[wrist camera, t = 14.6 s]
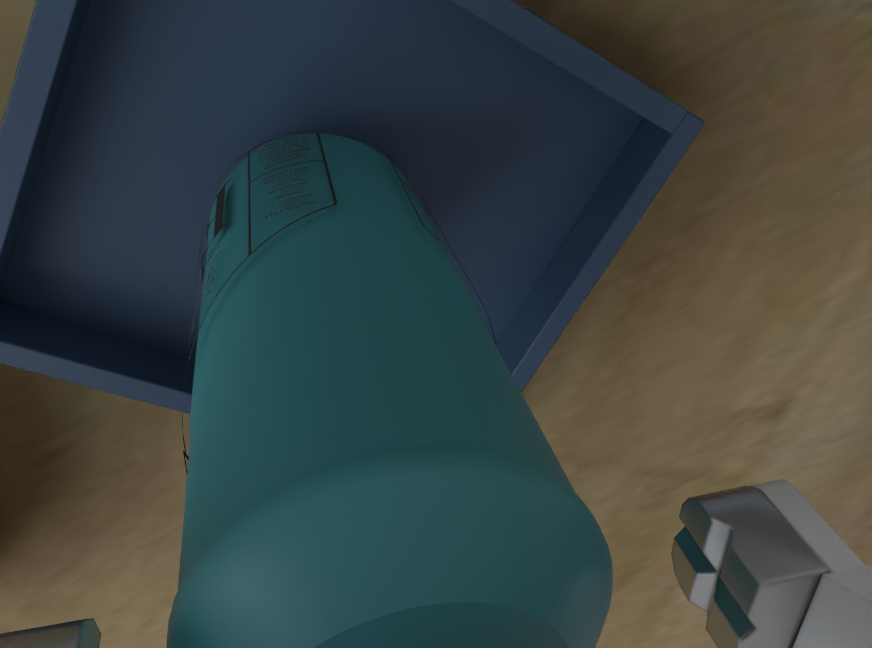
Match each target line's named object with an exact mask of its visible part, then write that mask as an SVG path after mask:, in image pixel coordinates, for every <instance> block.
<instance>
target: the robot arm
mask: <svg viewBox="0 0 872 648" xmlns="http://www.w3.org/2000/svg"><path fill="white" fill-rule="evenodd" d="M679 517H680V519H681V520H682V522H683V523H684V525H685V527H684V528H683V529H682V530H681V531H680V532H679V533H678V534H677V535H676V537H675V538H674V542H673V548H672V553H671V555H672V561H673V567H674V572H675V575H676V577H677V580H678V582H679V585H680V587H681V589H682V590H683V592H684V594H685V595H686V597H687V599H688V600H689V602H691V603H692V604H694V605H695V606H697V607H699V608H700V609H702V610H704V611H705V612H707V621H706V630H707V631H708V633H709V635H710V636H711V638H712V639H713V641H714V643H715V644H716V646H717V647H718V648H872V563H871V564H865V563H864V562H863V561H862V560H861V559H860V558H859V557H858V556H857V555H856V554H855V553H854V551H853V550H852V549H851V548H850V547H849V546H848V545H847V544H846V543H845V542H844V541H843V539H842V538H841V537H840V536H839V535H838V534H837V533H836V532H835V531H834V530H833V529H832V527H831V526H830V525H829V524H828V523H827V522H826V521H825V520H824V519H823V518H822V516H821V515H820V514H819V513H818V512H817V511H816V510H815V509H814V508H813V507H812V506H811V504H810V503H809V502H808V501H807V500H806V499H805V498H804V497H803V496H802V495H801V494H800V492H799V491H798V490H797V489H796V488H795V487H794V486H793V485H792V484H791V483H789V482H787V481H785V480H783V479H782V480H776V481H771V482H766V483H761V484H756V485H751V486H742V487H738V488H733V489H728V490H724V491H719V492H714V493H710V494H705V495H700V496H696V497H691V498H688V499H687V500H686V501H685V502H684V503H683V504H682V507H681V511H680V515H679ZM100 639H101V632H100V630H99V628H98V626H97V624H96V622H95V620H94V618H90V619H84V620H78V621H72V622H66V623H60V624H55V625H49V626H43V627H37V628H31V629H26V630H20V631H14V632H8V633H3V634H0V648H99V645H100Z"/></svg>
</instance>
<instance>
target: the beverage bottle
mask: <svg viewBox="0 0 872 648" xmlns="http://www.w3.org/2000/svg"><path fill="white" fill-rule="evenodd" d="M303 132H315V133H314V134H301V135H295V136H290V137H286V138H283V139H279V140H277V141H274V142H272V143H270V144H267V145H265V146H264V147H262V148H260V149H258V150H257V151H255V152H254V153H252V154H251V155H250V151H251V150H250V151H248V152H247V153H248V157H247V158H245V159H244V160H243V161H242V162H240V163H239V164H238V165H237V166H236V167H235V168H234V169H233V170H231V173H230V172H229V175H228V177H227V175H226V176H225V177H226V179H225V181H224V182H223V180H222V181H221V183H223V184H222V185H221V187H220V189H219V191H218V193H217V195H216V197H215V200H213V201H214V203H213V206H212V210H211V215H210V220H209V222H208V223H209V224H208V223H207V232H206V237H207V233H208V239H207V249H206V251H205V252H204V254H203V252H202V256H201V263H202V260H203V259H204V255H205V253H206V256H205V258H206V259H205V260H204V262H205V268H204V269H203V265H202V274H201V276H202V279H201V280H202V281H203V289H202V291H201V292H200V294H201V293H202V297H201V298H200V301H201V305H200V306H201V309H200V308H199V309H200V319H199V329H198V332H197V334H198V339H197V349H196V348H195V345H194V343H193V345H194V349H195V350H196V359H195V356H194V359H195V366H193V365H192V366H193V368H194V367H195V369H194V376H193V377H194V379H193V383H192V381H191V384H193V390H192V402H191V416H190V450H189V457H188V456H187V455H186V449H185V452H184V451H183V453H184V459H185V457H186V458H187V459H188V460H189V462H188V472H187V467H186V472H187V486H186V498H185V510H184V522H183V534H182V546H181V558H180V570H179V582H178V592H177V594H176V596H175V599H174V602H173V606H172V610H171V614H170V618H169V624H168V634H167V648H595V646H596V644H597V641H598V639H599V636H600V634H601V631H602V628H603V625H604V622H605V619H606V616H607V613H608V610H609V607H610V601H611V594H612V581H613V579H612V560H611V556H610V552H609V548H608V544H607V542H606V540H605V538H604V536H603V534H602V532H601V529H600V527H599V525H598V523H597V521H596V519H595V518H594V516H593V515H592V513H591V512H590V510H589V509H588V508H587V506H586V505H585V504H584V502H583V501H582V500H581V499H580V498H579V496H578V495H577V494H576V493H575V491H574V489H573V487H572V486H571V484H570V482H569V480H568V478H567V476H566V475H565V473H564V471H563V469H562V467H561V465H560V463H559V462H558V460H557V458H556V456H555V454H554V452H553V451H552V449H551V447H550V445H549V443H548V441H547V439H546V438H545V436H544V434H543V432H542V430H541V428H540V427H539V425H538V423H537V421H536V419H535V417H534V415H533V414H532V412H531V410H530V408H529V406H528V404H527V403H526V401H525V399H524V397H523V395H522V393H521V391H520V390H519V388H518V386H517V384H516V382H515V380H514V379H513V377H512V375H511V373H510V371H509V369H508V367H507V366H506V364H505V362H504V360H503V358H502V356H501V355H500V353H499V351H498V349H497V347H496V342H495V343H494V342H493V340H492V338H491V336H490V334H489V332H488V331H487V329H486V327H485V325H484V323H483V320H482V318H481V315H480V313H479V310H478V308H477V306H476V304H475V302H474V300H473V298H472V296H471V294H470V292H469V290H468V289H467V287H466V285H465V283H464V281H463V279H462V278H461V276H460V274H459V272H458V270H457V269H456V267H455V265H454V263H453V261H452V260H451V258H450V256H449V254H448V253H447V251H446V249H445V247H446V246H445V245H444V244H443V243H442V242H441V240H440V238H439V236H438V235H437V233H436V231H435V229H434V227H433V226H432V224H431V222H430V220H431V219H430V220H429V217H428V215H429V214H428V213H427V214H428V215H426V213H425V211H424V210H423V208H422V206H421V204H420V202H419V201H418V199H417V197H416V195H417V194H418V193H417V192H416V191H415V190H414V191H415V192H416V193H417V194H416V193H415V192H413V190H412V189H413V188H414V187H415V186H414V185H415V182H414V183H413V182H412V183H413V184H414V185H413V186H412V187H413V188H412V187H411V186H410V185H409V183H408V182H407V180H406V179H405V177H404V176H403V174H402V173H401V172H400V171H401V170H400V169H399V168H397V167H396V166H395V165H394V164H393V163H392V161H391V159H390V157H389V154H387V156H388V158H389V160H390V161H389V160H388V159H387V158H386V157H385V156H384V155H382V154H381V153H379V152H378V151H376V150H375V149H373V148H371V147H369V146H367V145H365V144H363V143H361V142H358V141H356V140H353V139H350V138H347V137H342V136H337V135H332V134H320V133H318V132H316V131H303ZM297 133H302V132H297ZM290 134H295V133H290ZM286 135H289V134H286ZM286 135H283V136H286ZM280 137H282V136H280ZM276 138H279V137H276ZM273 139H275V138H273ZM273 139H271V140H273ZM271 140H269V141H271ZM267 142H268V141H267ZM264 143H266V142H264ZM264 143H262V144H264ZM262 144H260V145H262ZM260 145H258V146H260ZM258 146H257V147H258ZM255 148H256V147H255ZM255 148H253V149H255ZM253 149H252V150H253ZM247 153H246V154H247ZM244 155H245V154H244ZM244 155H243V156H244ZM243 156H242V157H243ZM391 157H392V156H391ZM240 158H241V157H240ZM240 158H239V159H240ZM392 158H393V157H392ZM239 159H238V160H239ZM393 159H394V158H393ZM238 160H237V161H238ZM235 162H236V161H235ZM235 162H234V163H235ZM234 163H233V164H234ZM398 163H399V162H398ZM233 164H232V165H233ZM399 164H400V163H399ZM232 165H231V166H232ZM400 165H401V164H400ZM398 169H399V170H400V171H399V170H398ZM402 169H403V168H402ZM406 172H407V171H406ZM406 172H405V173H406ZM405 173H404V174H405ZM407 173H408V172H407ZM407 173H406V174H407ZM224 174H225V173H224ZM224 174H223V175H224ZM406 174H405V175H406ZM407 175H408V174H407ZM407 175H406V176H407ZM408 176H409V175H408ZM221 178H222V177H221ZM221 178H220V179H221ZM410 179H411V178H410ZM411 180H412V181H413V179H411ZM219 181H220V180H219ZM219 181H218V182H219ZM218 182H217V183H218ZM216 185H217V184H216ZM215 187H216V186H215ZM416 187H417V186H416ZM416 187H415V188H416ZM218 188H219V187H217V188H216V190H215V192H214V194H215V193H216V191H217V189H218ZM415 188H414V189H415ZM214 189H215V188H214ZM416 190H417V191H418V190H419V189H417V188H416ZM418 192H419V191H418ZM419 193H421V192H419ZM211 194H212V193H211ZM214 194H213V196H214ZM415 194H416V195H415ZM418 195H419V194H418ZM418 195H417V196H418ZM210 196H211V195H210ZM213 196H212V198H213ZM419 196H420V195H419ZM419 196H418V197H419ZM421 197H422V196H421ZM212 198H211V199H210V198H209V199H210V202H211V200H212ZM422 199H423V198H422ZM424 200H425V199H424ZM210 202H209V204H210ZM424 202H425V201H424ZM424 204H425V203H424ZM206 207H207V206H206ZM423 207H424V206H423ZM426 207H427V206H426ZM428 207H429V206H428ZM424 208H425V207H424ZM207 209H208V207H207ZM427 209H428V208H427ZM427 209H426V212H427ZM429 209H430V208H429ZM205 210H206V209H205ZM429 211H430V210H428V212H429ZM431 213H432V211H431ZM431 213H430V214H431ZM205 215H206V213H205ZM431 216H432V215H431ZM431 216H430V217H431ZM204 218H205V217H204ZM431 218H432V219H433V220H434V218H435V217H434V218H433V217H431ZM434 221H435V220H434ZM432 222H433V221H432ZM436 222H437V221H435V223H436ZM433 223H434V222H433ZM435 223H434V225H436V226H438V225H437V224H438V223H437V224H435ZM203 226H204V225H203ZM439 226H440V225H439ZM438 228H439V227H438ZM440 229H441V228H440ZM440 229H438V230H439V231H440ZM202 231H203V230H202ZM202 233H203V232H202ZM441 233H442V232H441ZM443 233H444V232H443ZM443 233H442V236H443ZM439 235H440V234H439ZM442 236H441V237H442ZM444 236H445V235H444ZM444 236H443V237H444ZM443 237H442V238H443ZM201 238H202V239H203V237H202V236H201ZM444 238H445V237H444ZM446 239H447V238H446ZM446 239H444V240H446ZM446 242H447V245H448V246H449V244H448V239H447V241H446ZM449 243H450V242H449ZM201 244H202V243H201ZM201 244H200V248H201V247H202V246H201ZM450 245H451V244H450ZM444 246H445V247H444ZM449 247H450V246H449ZM203 249H204V247H203ZM203 249H202V250H203ZM450 249H451V248H450ZM448 251H449V250H448ZM453 251H454V250H453ZM453 251H452V252H453ZM449 252H450V251H449ZM450 253H451V252H450ZM451 254H452V253H451ZM453 254H454V253H453ZM453 254H452V255H453ZM456 255H457V254H456ZM454 256H455V255H454ZM199 257H200V252H199ZM455 257H456V256H455ZM455 259H456V260H457V258H455ZM457 261H458V260H457ZM458 263H459V262H458ZM459 264H460V263H459ZM198 266H199V261H198ZM460 266H461V264H460ZM461 268H462V269H463V267H461ZM463 271H465V270H463ZM203 272H204V278H203ZM464 273H465V272H464ZM197 274H198V269H197ZM466 274H467V273H466ZM466 274H465V275H466ZM197 276H198V275H197ZM466 276H467V275H466ZM200 278H201V277H200ZM467 278H468V277H467ZM469 278H470V277H469ZM198 279H199V278H198ZM468 280H469V279H468ZM197 281H198V280H197V277H196V283H197ZM199 281H200V280H199ZM469 281H470V280H469ZM470 283H471V282H470ZM198 285H199V283H198ZM471 285H472V284H471ZM196 286H197V285H196ZM196 286H195V291H196V289H197V288H196ZM197 287H198V286H197ZM201 287H202V285H201ZM472 287H473V286H472ZM473 288H474V287H473ZM198 289H199V287H198ZM474 290H475V289H474ZM197 291H198V290H197ZM475 292H476V291H475ZM196 294H197V292H196ZM476 294H477V293H476ZM477 295H478V294H477ZM195 297H196V296H195ZM199 297H200V295H199ZM478 297H479V296H478ZM196 298H198V297H196ZM198 299H199V298H198ZM479 299H480V298H479ZM196 300H197V299H196ZM196 300H195V301H194V302H196ZM480 300H481V299H480ZM197 302H198V300H197ZM481 302H482V301H481ZM199 303H200V302H199ZM196 304H197V303H196ZM482 304H483V302H482ZM483 306H484V305H483ZM195 307H196V305H195ZM484 308H485V307H484ZM194 309H195V308H194ZM194 309H193V311H194ZM199 309H198V311H199ZM196 310H197V308H196ZM198 311H197V313H198ZM486 313H487V312H486ZM192 314H195V313H194V312H192ZM487 315H488V314H487ZM196 316H197V314H196ZM192 318H193V317H192ZM488 318H489V317H488ZM191 321H193V320H191ZM489 321H490V320H489ZM194 322H195V319H194ZM194 322H193V323H194ZM191 323H192V322H191ZM490 325H491V323H490ZM192 326H193V324H192ZM194 328H195V326H194V327H193V330H194ZM191 329H192V328H191ZM191 329H190V331H191ZM491 329H492V327H491ZM193 330H192V336H193ZM492 332H493V330H492ZM190 334H191V332H190ZM194 336H195V334H194ZM196 336H197V335H196ZM493 336H494V334H493ZM190 338H191V337H190ZM190 338H189V343H190ZM494 340H495V337H494ZM195 341H196V337H195V340H193V342H195ZM190 346H191V344H190ZM188 348H189V347H188ZM192 348H193V346H192ZM190 349H191V348H190ZM191 351H192V350H191ZM190 354H191V357H192V355H194V352H193V351H192V352H191V353H190V352H189V358H190ZM187 359H188V358H187ZM192 360H193V359H192ZM192 360H190V362H191V361H192ZM188 361H189V359H188ZM187 365H189V362H188V364H187ZM190 365H191V364H190ZM187 370H188V368H187ZM187 370H186V371H187ZM189 374H190V369H189ZM191 374H193V371H192V373H191ZM187 375H188V372H187ZM185 376H186V375H185ZM190 379H191V378H190ZM188 381H189V377H188ZM184 382H185V381H184ZM183 389H184V388H183ZM182 404H183V403H182ZM182 426H183V417H182ZM183 442H184V437H183ZM184 448H185V443H184ZM185 465H186V461H185Z"/></svg>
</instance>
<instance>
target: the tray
mask: <svg viewBox="0 0 872 648" xmlns="http://www.w3.org/2000/svg"><path fill="white" fill-rule="evenodd" d="M704 124H705V122H704V120H702V119H700V118H699V117H697V116H696V115H694V114H692V113H691V112H689V111H687V110H686V109H685V108H683V107H681V106H680V105H678V104H677V103H675V102H673V101H672V100H670V99H669V98H667V97H666V96H664V95H662V94H661V93H659V92H658V91H656V90H654V89H653V88H651V87H650V86H648V85H646V84H645V83H643V82H642V81H640V80H638V79H637V78H635V77H634V76H632V75H630V74H629V73H627V72H626V71H624V70H622V69H621V68H619V67H618V66H616V65H614V64H613V63H611V62H610V61H608V60H607V59H605V58H603V57H602V56H600V55H599V54H597V53H595V52H594V51H592V50H591V49H589V48H587V47H586V46H584V45H583V44H581V43H579V42H578V41H576V40H575V39H573V38H571V37H570V36H568V35H567V34H565V33H563V32H562V31H560V30H559V29H557V28H555V27H554V26H552V25H551V24H549V23H548V22H546V21H544V20H543V19H541V18H540V17H538V16H536V15H535V14H533V13H532V12H530V11H528V10H527V9H525V8H524V7H522V6H520V5H519V4H517V3H516V2H514V1H512V0H36V4H35V7H34V11H33V15H32V18H31V22H30V25H29V29H28V32H27V36H26V40H25V43H24V47H23V50H22V54H21V57H20V61H19V64H18V68H17V72H16V75H15V79H14V82H13V86H12V89H11V93H10V97H9V100H8V104H7V107H6V111H5V114H4V118H3V121H2V125H1V129H0V363H1V364H4V365H8V366H12V367H16V368H19V369H23V370H27V371H31V372H35V373H38V374H42V375H46V376H50V377H53V378H57V379H61V380H65V381H68V382H72V383H76V384H80V385H83V386H87V387H91V388H95V389H98V390H102V391H106V392H110V393H113V394H117V395H121V396H125V397H128V398H132V399H136V400H140V401H143V402H147V403H151V404H155V405H158V406H162V407H166V408H170V409H173V410H177V411H181V412H185V413H189V414H191V402H192V390H193V384H191V381H192V383H193V379H194V377H193V376H194V369H195V367H194V368H193V366H195V359H196V350H195V349H194V345H195V348H196V349H197V339H198V334H197V332H198V329H199V319H200V309H201V306H200V305H201V301H200V298H201V297H202V293H201V294H200V292H201V291H202V289H203V281H202V280H201V279H202V276H201V274H202V265H203V269H204V268H205V262H204V260H205V259H206V258H205V256H206V253H205V255H204V259H203V260H202V263H201V256H202V252H203V254H204V252H205V251H206V249H207V239H208V233H207V237H206V232H207V223H208V222H209V220H210V215H211V210H212V206H213V203H214V201H213V200H215V197H216V195H217V193H218V191H219V189H220V187H221V185H222V184H223V183H221V181H222V180H223V182H224V181H225V179H226V177H225V176H226V175H227V177H228V175H229V172H230V173H231V170H233V169H234V168H235V167H236V166H237V165H238V164H239V163H240V162H242V161H243V160H244V159H245V158H247V157H248V153H247V152H248V151H250V150H251V151H250V155H251V154H252V153H254V152H255V151H257V150H258V149H260V148H262V147H264V146H265V145H267V144H270V143H272V142H274V141H277V140H279V139H283V138H286V137H290V136H295V135H301V134H314V133H315V132H303V131H316V132H318V133H320V134H332V135H337V136H342V137H347V138H350V139H353V140H356V141H358V142H361V143H363V144H365V145H367V146H369V147H371V148H373V149H375V150H376V151H378V152H379V153H381V154H382V155H384V156H385V157H386V158H387V159H388V160H389V158H388V156H387V154H389V157H390V159H391V161H392V163H393V164H394V165H395V166H396V167H397V168H399V169H400V170H401V171H400V170H399V169H398V170H399V171H400V172H401V173H402V174H403V176H404V177H405V179H406V180H407V182H408V183H409V185H410V186H411V187H412V186H413V185H414V184H413V183H414V182H415V185H414V186H415V187H416V186H417V187H416V188H417V189H419V190H418V191H419V192H421V193H419V192H418V191H417V190H416V188H415V187H414V188H415V189H414V188H413V187H412V188H413V189H412V190H413V192H415V191H416V192H417V193H418V194H419V195H420V196H419V195H418V194H417V193H416V192H415V193H416V194H417V195H418V196H419V197H418V196H417V195H416V194H415V195H416V197H417V199H418V201H419V202H420V204H421V206H422V208H423V210H424V211H425V213H426V215H428V214H429V215H428V217H429V220H430V219H431V220H430V222H431V224H432V226H433V227H434V229H435V231H436V233H437V235H438V236H439V238H440V240H441V242H442V243H443V244H444V245H445V246H446V247H445V246H444V247H445V249H446V251H447V253H448V254H449V256H450V258H451V260H452V261H453V263H454V265H455V267H456V269H457V270H458V272H459V274H460V276H461V278H462V279H463V281H464V283H465V285H466V287H467V289H468V290H469V292H470V294H471V296H472V298H473V300H474V302H475V304H476V306H477V308H478V310H479V313H480V315H481V318H482V320H483V323H484V325H485V327H486V329H487V331H488V332H489V334H490V336H491V338H492V340H493V342H494V343H495V342H496V347H497V349H498V351H499V353H500V355H501V356H502V358H503V360H504V362H505V364H506V366H507V367H508V369H509V371H510V373H511V375H512V377H513V379H514V380H515V382H516V384H517V386H518V388H519V390H520V391H521V392H522V390H523V389H524V387H525V386H526V384H527V383H528V381H529V380H530V378H531V377H532V375H533V374H534V373H535V371H536V370H537V368H538V367H539V365H540V364H541V362H542V361H543V359H544V358H545V357H546V355H547V354H548V352H549V351H550V349H551V348H552V346H553V345H554V343H555V342H556V340H557V339H558V338H559V336H560V335H561V333H562V332H563V330H564V329H565V327H566V326H567V324H568V323H569V321H570V320H571V319H572V317H573V316H574V314H575V313H576V311H577V310H578V308H579V307H580V305H581V304H582V302H583V301H584V300H585V298H586V297H587V295H588V294H589V292H590V291H591V289H592V288H593V286H594V285H595V284H596V282H597V281H598V279H599V278H600V276H601V275H602V273H603V272H604V270H605V269H606V267H607V266H608V265H609V263H610V262H611V260H612V259H613V257H614V256H615V254H616V253H617V251H618V250H619V248H620V247H621V246H622V244H623V243H624V241H625V240H626V238H627V237H628V235H629V234H630V232H631V231H632V230H633V228H634V227H635V225H636V224H637V222H638V221H639V219H640V218H641V216H642V215H643V213H644V212H645V211H646V209H647V208H648V206H649V205H650V203H651V202H652V200H653V199H654V197H655V196H656V194H657V193H658V192H659V190H660V189H661V187H662V186H663V184H664V183H665V181H666V180H667V178H668V177H669V175H670V174H671V173H672V171H673V170H674V168H675V167H676V165H677V164H678V162H679V161H680V159H681V158H682V157H683V155H684V154H685V152H686V151H687V149H688V148H689V146H690V145H691V143H692V142H693V140H694V139H695V138H696V136H697V135H698V133H699V132H700V130H701V129H702V127H703V126H704ZM297 132H302V133H297ZM290 133H295V134H290ZM286 134H289V135H286ZM283 135H286V136H283ZM280 136H282V137H280ZM276 137H279V138H276ZM273 138H275V139H273ZM271 139H273V140H271ZM269 140H271V141H269ZM267 141H268V142H267ZM264 142H266V143H264ZM262 143H264V144H262ZM260 144H262V145H260ZM258 145H260V146H258ZM257 146H258V147H257ZM255 147H256V148H255ZM253 148H255V149H253ZM252 149H253V150H252ZM246 153H247V154H246ZM244 154H245V155H244ZM243 155H244V156H243ZM242 156H243V157H242ZM391 156H392V157H393V158H394V159H393V158H392V157H391ZM240 157H241V158H240ZM239 158H240V159H239ZM238 159H239V160H238ZM237 160H238V161H237ZM235 161H236V162H235ZM389 161H390V160H389ZM234 162H235V163H234ZM398 162H399V163H400V164H401V165H400V164H399V163H398ZM233 163H234V164H233ZM232 164H233V165H232ZM231 165H232V166H231ZM402 168H403V169H402ZM406 171H407V172H408V173H407V172H406ZM405 172H406V173H407V174H408V175H409V176H408V175H407V174H406V173H405ZM224 173H225V174H224ZM404 173H405V174H406V175H407V176H406V175H405V174H404ZM223 174H224V175H223ZM221 177H222V178H221ZM220 178H221V179H220ZM410 178H411V179H413V181H412V180H411V179H410ZM219 180H220V181H219ZM218 181H219V182H218ZM217 182H218V183H217ZM412 182H413V183H412ZM216 184H217V185H216ZM215 186H216V187H215ZM217 187H219V188H218V189H217V191H216V193H215V194H214V192H215V190H216V188H217ZM214 188H215V189H214ZM414 190H415V191H414ZM211 193H212V194H211ZM213 194H214V196H213ZM210 195H211V196H210ZM212 196H213V198H212ZM421 196H422V197H421ZM209 198H210V199H211V198H212V200H211V202H210V199H209ZM422 198H423V199H422ZM424 199H425V200H424ZM424 201H425V202H424ZM209 202H210V204H209ZM424 203H425V204H424ZM206 206H207V207H208V209H207V207H206ZM423 206H424V207H425V208H424V207H423ZM426 206H427V207H426ZM428 206H429V207H428ZM427 208H428V209H427ZM429 208H430V209H429ZM205 209H206V210H205ZM426 209H427V212H426ZM428 210H430V211H429V212H428ZM431 211H432V213H431ZM205 213H206V215H205ZM427 213H428V214H427ZM430 213H431V214H430ZM431 215H432V216H431ZM430 216H431V217H433V218H434V217H435V218H434V220H435V221H437V222H436V223H435V221H434V220H433V219H432V218H431V217H430ZM204 217H205V218H204ZM432 221H433V222H434V223H435V224H437V223H438V224H437V225H438V226H436V225H434V223H433V222H432ZM208 224H209V223H208ZM203 225H204V226H203ZM439 225H440V226H439ZM438 227H439V228H438ZM440 228H441V229H440ZM438 229H440V231H439V230H438ZM202 230H203V231H202ZM202 232H203V233H202ZM441 232H442V233H443V232H444V233H443V236H444V235H445V236H444V237H445V238H444V237H443V236H442V233H441ZM439 234H440V235H439ZM201 236H202V237H203V239H202V238H201ZM441 236H442V237H443V238H442V237H441ZM446 238H447V239H448V244H449V246H450V247H449V246H448V245H447V242H446V241H447V239H446ZM444 239H446V240H444ZM449 242H450V243H449ZM201 243H202V244H201ZM200 244H201V246H202V247H201V248H200ZM450 244H451V245H450ZM203 247H204V249H203ZM450 248H451V249H450ZM202 249H203V250H202ZM448 250H449V251H450V252H451V253H452V254H453V253H454V254H453V255H452V254H451V253H450V252H449V251H448ZM453 250H454V251H453ZM452 251H453V252H452ZM199 252H200V257H199ZM456 254H457V255H456ZM454 255H455V256H456V257H455V256H454ZM455 258H457V260H458V261H457V260H456V259H455ZM198 261H199V266H198ZM458 262H459V263H460V264H461V266H460V264H459V263H458ZM461 267H463V269H462V268H461ZM197 269H198V274H197ZM463 270H465V271H463ZM464 272H465V273H464ZM466 273H467V274H466ZM465 274H466V275H467V276H466V275H465ZM197 275H198V276H197ZM196 277H197V280H198V281H197V283H196ZM200 277H201V278H200ZM467 277H468V278H467ZM469 277H470V278H469ZM198 278H199V279H198ZM203 278H204V272H203ZM468 279H469V280H470V281H469V280H468ZM199 280H200V281H199ZM470 282H471V283H470ZM198 283H199V285H198ZM471 284H472V285H471ZM196 285H197V286H198V287H199V289H198V287H197V286H196ZM201 285H202V287H201ZM195 286H196V288H197V289H196V291H195ZM472 286H473V287H474V288H473V287H472ZM474 289H475V290H474ZM197 290H198V291H197ZM475 291H476V292H475ZM196 292H197V294H196ZM476 293H477V294H478V295H477V294H476ZM199 295H200V297H199ZM195 296H196V297H198V298H199V299H198V298H196V297H195ZM478 296H479V297H478ZM479 298H480V299H481V300H480V299H479ZM196 299H197V300H198V302H197V300H196ZM195 300H196V302H194V301H195ZM481 301H482V302H483V304H482V302H481ZM199 302H200V303H199ZM196 303H197V304H196ZM195 305H196V307H195ZM483 305H484V306H483ZM484 307H485V308H484ZM194 308H195V309H194ZM196 308H197V310H196ZM199 308H200V309H199ZM193 309H194V311H193ZM198 309H199V311H198ZM197 311H198V313H197ZM192 312H194V313H195V314H192ZM486 312H487V313H486ZM196 314H197V316H196ZM487 314H488V315H487ZM192 317H193V318H192ZM488 317H489V318H488ZM194 319H195V322H194ZM191 320H193V321H191ZM489 320H490V321H489ZM191 322H192V323H191ZM193 322H194V323H193ZM490 323H491V325H490ZM192 324H193V326H192ZM194 326H195V328H194V330H193V327H194ZM491 327H492V329H491ZM191 328H192V329H191ZM190 329H191V331H190ZM192 330H193V336H192ZM492 330H493V332H492ZM190 332H191V334H190ZM194 334H195V336H194ZM493 334H494V336H493ZM196 335H197V336H196ZM190 337H191V338H190ZM195 337H196V341H195V342H193V340H195ZM494 337H495V340H494ZM189 338H190V343H189ZM193 343H194V345H193ZM190 344H191V346H190ZM192 346H193V348H192ZM188 347H189V348H188ZM190 348H191V349H190ZM191 350H192V351H193V352H194V355H192V357H191V354H190V358H189V352H190V353H191V352H192V351H191ZM194 356H195V359H194ZM187 358H188V359H189V361H188V359H187ZM192 359H193V360H192ZM190 360H192V361H191V362H190ZM188 362H189V365H187V364H188ZM190 364H191V365H190ZM192 365H193V366H192ZM187 368H188V370H187ZM189 369H190V374H189ZM186 370H187V371H186ZM192 371H193V374H191V373H192ZM187 372H188V375H187ZM185 375H186V376H185ZM188 377H189V381H188ZM190 378H191V379H190ZM184 381H185V382H184ZM183 388H184V389H183ZM182 403H183V404H182Z"/></svg>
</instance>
